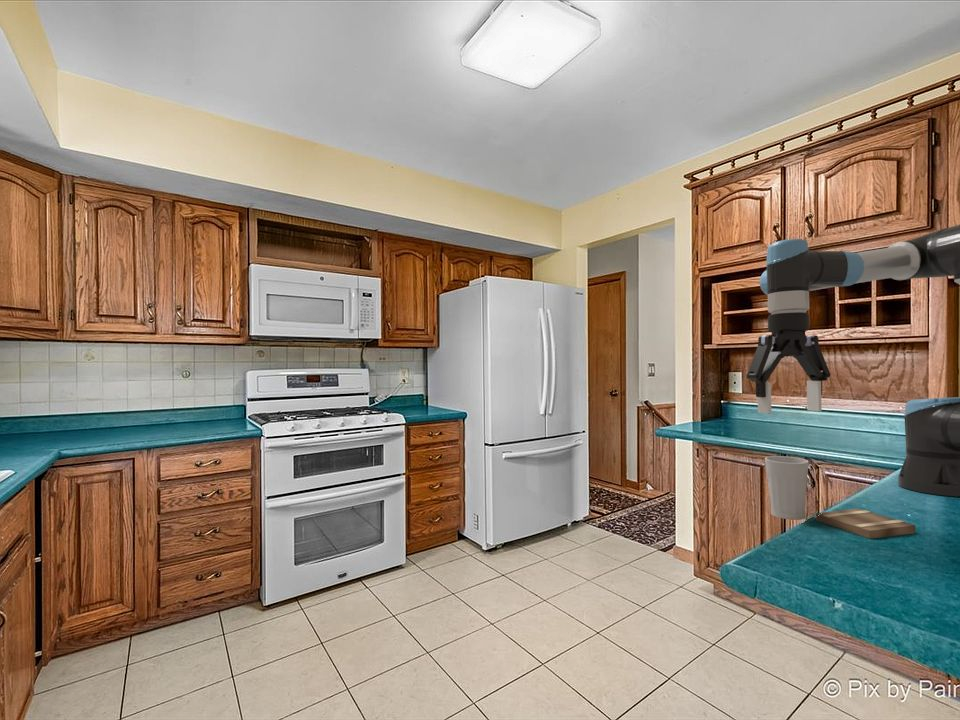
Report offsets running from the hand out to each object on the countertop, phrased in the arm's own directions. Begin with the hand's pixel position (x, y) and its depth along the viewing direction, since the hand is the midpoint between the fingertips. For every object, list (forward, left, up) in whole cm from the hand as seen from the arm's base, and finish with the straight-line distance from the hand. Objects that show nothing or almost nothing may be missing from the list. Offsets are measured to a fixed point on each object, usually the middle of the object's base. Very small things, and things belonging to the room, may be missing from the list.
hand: (789, 412), depth 103 cm
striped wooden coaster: (-8, +9, -22) cm, 25 cm away
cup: (0, -1, -23) cm, 23 cm away
